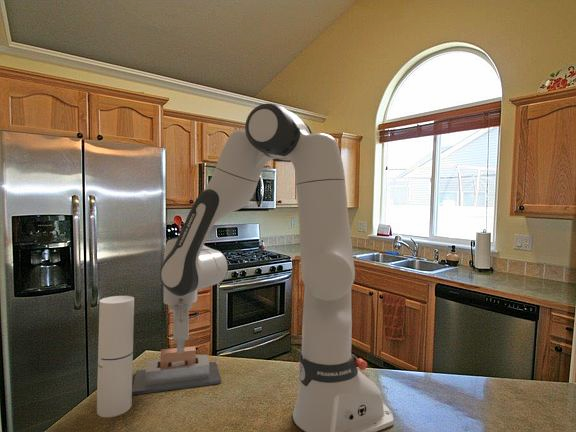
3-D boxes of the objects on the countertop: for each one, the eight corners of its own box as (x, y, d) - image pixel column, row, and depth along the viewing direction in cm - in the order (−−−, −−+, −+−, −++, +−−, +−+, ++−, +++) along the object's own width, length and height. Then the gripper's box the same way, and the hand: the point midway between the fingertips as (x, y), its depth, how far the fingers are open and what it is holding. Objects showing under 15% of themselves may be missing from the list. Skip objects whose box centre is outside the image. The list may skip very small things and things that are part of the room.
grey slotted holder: (216, 364, 103) (216, 350, 103) (221, 383, 91) (221, 367, 91) (136, 373, 96) (136, 358, 96) (131, 395, 84) (131, 377, 84)
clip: (194, 371, 96) (195, 346, 96) (195, 375, 93) (195, 350, 93) (160, 375, 93) (160, 349, 93) (159, 380, 90) (160, 353, 90)
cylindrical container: (117, 419, 74) (120, 304, 74) (89, 414, 76) (91, 302, 76) (138, 402, 81) (140, 297, 81) (111, 398, 83) (114, 294, 83)
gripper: (194, 303, 85) (194, 359, 84) (190, 287, 104) (190, 332, 104) (167, 305, 83) (167, 362, 82) (169, 288, 102) (168, 334, 102)
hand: (180, 345), depth 93 cm, fingers open, 8 cm apart
